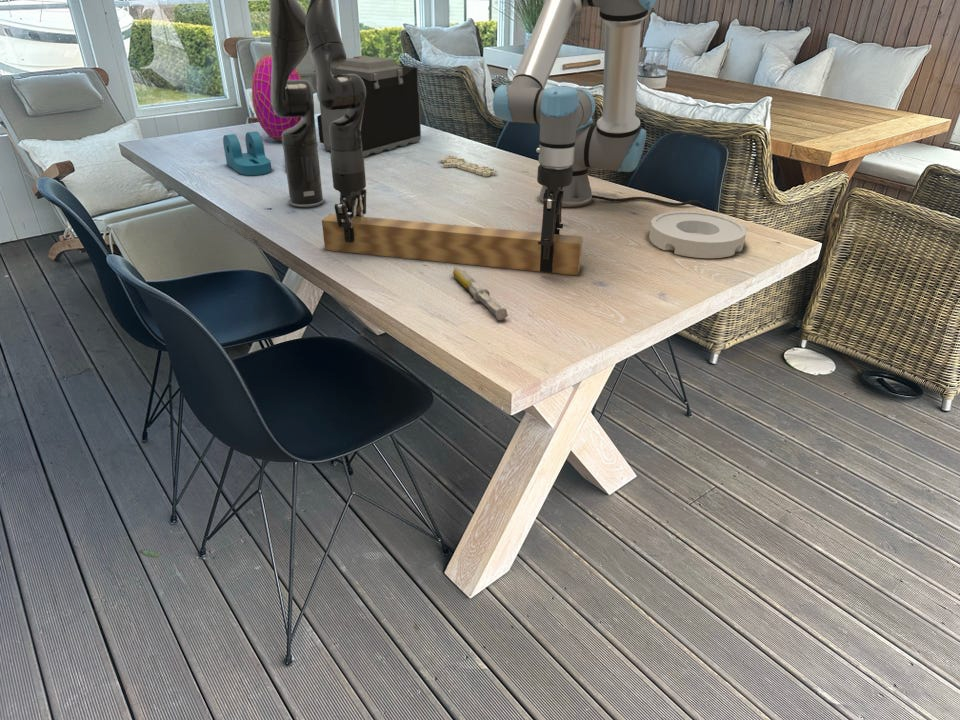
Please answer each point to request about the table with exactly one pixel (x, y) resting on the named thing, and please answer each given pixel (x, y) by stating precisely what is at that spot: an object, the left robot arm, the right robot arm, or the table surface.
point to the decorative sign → (467, 166)
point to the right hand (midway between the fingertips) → (549, 263)
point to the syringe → (479, 293)
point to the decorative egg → (269, 100)
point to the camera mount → (246, 154)
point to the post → (452, 244)
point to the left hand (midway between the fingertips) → (354, 237)
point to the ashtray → (697, 234)
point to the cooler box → (380, 104)
